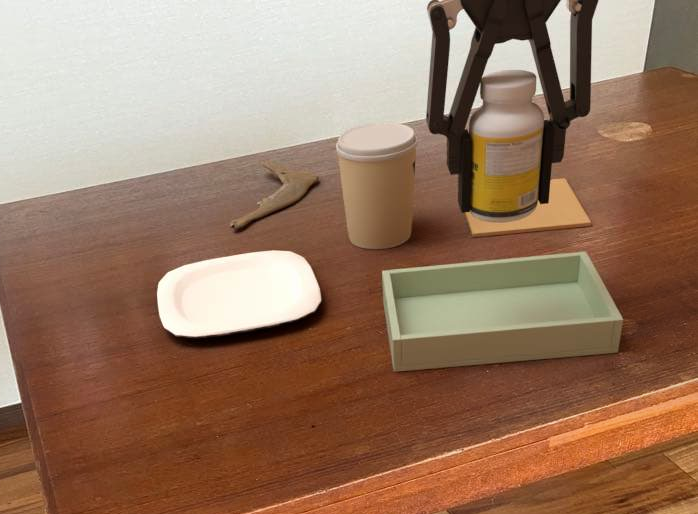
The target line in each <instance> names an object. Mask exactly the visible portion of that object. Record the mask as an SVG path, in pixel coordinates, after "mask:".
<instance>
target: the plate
mask: <svg viewBox="0 0 698 514" xmlns="http://www.w3.org/2000/svg"><path fill="white" fill-rule="evenodd" d="M315 275H316V274H315V273H314V270H313V268H312V266H311V264H309V262H308V261H307V259H306V258H305V257H304V256H302V255H299V254H297V253H295V252H294V251H291V250H290V251H289V250H275V249H273V250H262V251H255V252H254V251H253V252H247V253H241V254H234V255H229V256H222V257H216V258H210V259H205V260H201V261H198V262H193V263H189V264H183V265H182V266H179V267H176V268H174V269H173V270H170V271H168V272H167V273H165V275H163V277H162V278H161V279H160V281H158V285H157V291H156V298H157V299H156V301H157V309H158V315H159V320H160V321H161V324H162V326H163V329H164V330H165V331H167V332H168V333H170V334H172V335H173V336H175V337H177V338H186V339H187V338H189V339H205V338H206V339H207V338H215V337H223V336H230V335H237V334H241V333H248V332H253V331H259V330H263V329H270V328H274V327H278V326H279V327H280V326H282V325H287V324H290V323H296V322H298V321H300V320H303V319H304V318H306V317H308V316H310V315H313V314H315V312H316V311H317V310H318V307H319V306H320V305H321V303H322V293H321V288H320V285H319V282H318V279H317V277H316V276H315Z"/></svg>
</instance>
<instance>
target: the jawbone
mask: <svg viewBox="0 0 698 514" xmlns="http://www.w3.org/2000/svg"><path fill="white" fill-rule="evenodd" d="M260 166H262V167H264V168H265V169H267V170H269V171H270V172H271V173H272V174H274V175H275V176H276V177H277V178H278V179H279V180H280V182H281V183H282V185H281V186H280V187H279V188H278V190H276V191H275V192H273V194H272V195H268V197H263V199H262V200H260V201H257V203H256V205H257V206H259V207H258V208H257V209H256V210H254V211H251V212H250V213H248V214H245V215H243V216H242V217H239V218H236V219H232V220H231V221H230V223H229V227H230V228H231V229H233V230H238V229H239V228H245V227H246V226H247V225H248V224H250V223H251V222H252V221H254V220H258V219H261V218H263V217H265V216H267V215H270V214H272V213H274V212H277V211H279V210H282V209H284V208H286V207H289V206H290V205H293V204H295V203H297V202H298V201H300V200H301V199H302V198H303V197H304V196H305V194H307V192H308V189H310V187H311V186H312V185H313V184H315V183H317V182H318V181H319V175H318V174H316V173H314V172H311V171H308V170H293V169H289V168H286V167H284V166H283V165H282V164H281V163H279V162H278V163H277V165H275V164H274V163H271V162H270V161H266V160H265V159H263V160H262V161H260Z"/></svg>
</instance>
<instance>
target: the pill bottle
mask: <svg viewBox="0 0 698 514" xmlns="http://www.w3.org/2000/svg"><path fill="white" fill-rule="evenodd" d="M536 92H537V75H536V73H534V72H532V71H528V70H524V69H505V70H504V69H503V70H498V71H494V72H493V71H492V72H490V73H487V74H486V75H483V76H482V79H481V82H480V85H479V95H480V96H479V97H480V99H481V101H482V105H480V106H479V107H477V108H476V109H475V110H474V111H473V113H472V114H471V115H470V117H469V123H468V132H469V135H470V137H471V139H472V141H471V185H470V213H471V215H473V216H474V217H475V218H477V219H479V220H482V221H486V222H492V223H506V222H513V221H517V220H520V219H523V218H525V217H527V216H529V215H530V214H532V213H533V212H534V210H535V209H536V207H537V204H538V192H539V177H540V165H541V153H542V140H543V128H544V120H545V114H544V112H543V109H542V108H541V107H540V106H539V105H538V104H537V103H536V102H533V97H535V95H536Z"/></svg>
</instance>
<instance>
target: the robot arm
mask: <svg viewBox="0 0 698 514" xmlns="http://www.w3.org/2000/svg"><path fill="white" fill-rule="evenodd" d="M561 2H562V0H430V1H428V3H427V6H426V11H427V12H426V13H427V16H428V20H429V23H430V27H431V31H432V34H431V46H430V61H429V75H428V87H427V89H428V90H427V99H426V101H427V102H426V114H425V115H426V116H425V121H426V124H427V127H428V130H429V132H430V134H432V135H442V136H444V137H445V138H446V166H447V169H448V172H449V175H450V176H452V175H457V189H458V193H457V204H458V205H459V209H460V212H461V213H462V214H463V213H464V214H465V212H470V185H471V141H472V139H471V137H470V135H469V129H467V128H466V127H467V123H468V120H469V119H470V116H471V112H472V109H473V106H474V103H475V99H476V97H477V93H478V90H479V89H480V82H481V79H482V78H483V77H484V73H485V71H486V67H487V64H488V61H489V59H490V58H491V56H492V53H493V51H494V48H495V45H499V44H504V43H506V42H508V41H509V42H510V41H511V40H517V41H521V42H523V41H528V42H529V46H530V49H531V52H532V56H533V60H534V64H535V68H536V72H537V75H538V79H539V83H540V86H541V90H542V94H543V99H544V101H545V105H546V108H547V113H548V117H549V118H548V119H544V128H543V140H542V153H541V165H540V177H539V192H538V201H539V203H540V204H548V203H549V192H550V180H552V179H551V177H552V169H553V168H552V167H553V164H558V163H559V164H560V163H562V161H563V159H564V157H565V147H566V146H565V144H566V136H567V135H566V133H567V129H568V128H569V127H570V125H571V122H572V121H573V120H575V119H578V118H585V117H587V116H588V115H589V114H590V112H591V99H592V98H591V97H592V96H591V94H592V51H593V50H592V47H593V46H592V45H593V19H594V16H595V13H596V11H597V6H598V4H599V0H566V4H565V6H566V8H567V10H568V11H569V12H570V19H569V20H570V21H569V33H570V34H569V99H568V100H566V101H565V98H564V94H563V90H562V86H561V82H560V79H559V78H560V77H559V75H558V71H557V65H556V62H555V58H554V54H553V50H552V47H551V46H552V43H551V39H550V35H549V30H548V27H547V22H548V20H549V19H550V17H551V16H552V14H553V13H554V12H555V10H556V9H557V8H558V5H559V4H560V3H561ZM462 10H464V12H465V13H466V15H467V17H468V18H469V20H470V21H471V22H472V24H473V25H474V26H475V28H474V30H473V34H472V38H471V41H470V48H469V50H468V53H467V57H466V60H465V64H464V67H463V68H462V73H461V75H460V79H459V82H458V85H457V88H456V91H455V94H454V98H453V99H452V100H453V101H452V103H451V107H450V110H449V112H448V115H446V114H445V106H446V96H447V84H448V74H449V73H448V72H449V62H450V61H449V60H450V50H451V33H450V30H453V29H454V28H455V27H456V25H457V21H458V20H457V19H458V16H459V15H458V14H459V12H461V11H462Z"/></svg>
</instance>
